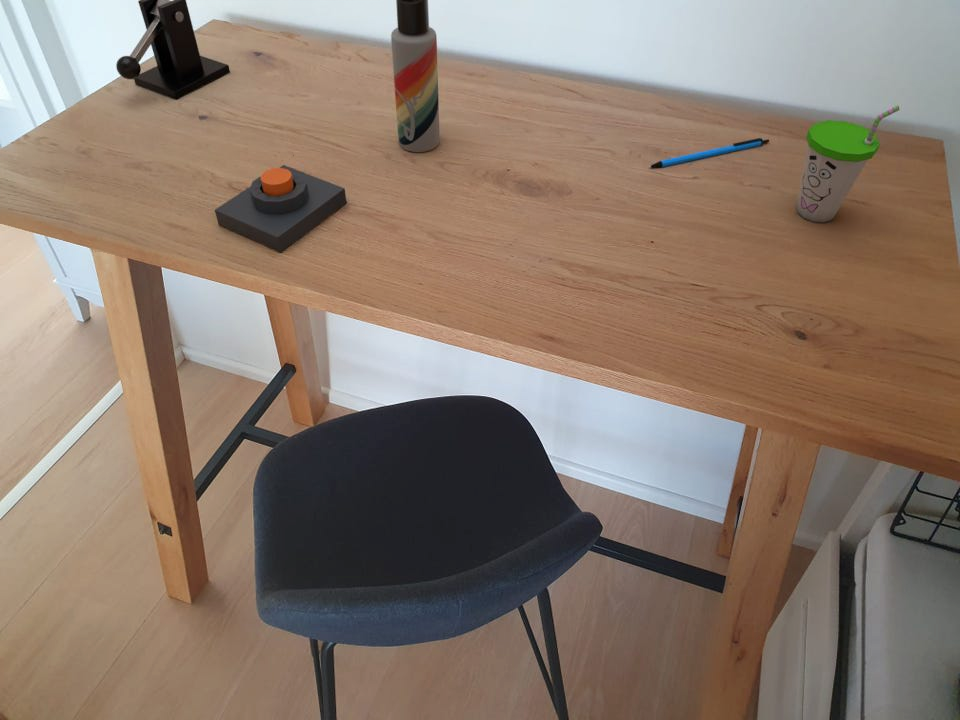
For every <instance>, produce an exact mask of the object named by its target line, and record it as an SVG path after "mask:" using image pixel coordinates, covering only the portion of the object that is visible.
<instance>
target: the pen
mask: <svg viewBox="0 0 960 720" xmlns="http://www.w3.org/2000/svg"><path fill="white" fill-rule="evenodd" d="M767 143H770V140H769V139H763V138H761V137H758V138H754V139H753V138H752V139H748V140H743V141H739V142H735V143H732V145H727V146H722V147H718V148H714V149H709V150H704V151H699V152H695V153H690V154H686V155H681V156H676V157H671V158H667V159H662V160H659V161H656V162H655V163H653V164H651V165H650V166H648V167H649V168H654V169H655V168H665V167H669V166H674V165H678V164H684V163H688V162H692V161H698V160H701V159H707V158H711V157H716V156H720V155H725V154H729V153H734V152H738V151H743V150H747V149H752V148H756V147H760V146H761V147H762V146H763V145H764V144H767Z"/></svg>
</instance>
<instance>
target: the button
mask: <svg viewBox="0 0 960 720" xmlns="http://www.w3.org/2000/svg"><path fill="white" fill-rule="evenodd" d="M260 176H261V183H262V187H263V191H264V193H265V194H267V195H269V196H280V195H284V194H288V193H290V192H291V191H293V189H294V184H293V179H292V174H291V172H290V171H289V170H287V169H284V168H280V167H273V168H270V169H266V170H265V171H263V172H262V173H261V175H260Z"/></svg>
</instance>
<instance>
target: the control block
mask: <svg viewBox="0 0 960 720" xmlns="http://www.w3.org/2000/svg"><path fill="white" fill-rule="evenodd" d="M279 168H284V169H287V170H289V171H290V172H291V174H292V179H293V184H294V189H293V191H291V192H290V193H288V194H284V195H280V196H269V195H267V194H265V193H264V191H263V187H262V183H261V175H260V176H258V177H257V178H255V179H254V180H253V181H252V182H251V184H250V186H249V187H247V188H245V189H244V190H243V191H241V192H240V193H238V194H237V195H235V196H234V197H232V198H230V199H229V200H228V201H225V202H224V203H223V204H221V205H220V206H218V207H217V208H215V209H214V213H215V217H216V221H217V223H218V226H220V227H222V228H225V229H227V230H229V231H231V232H233V233H235V234H238V235H240V236H242V237H245V238H247V239H249V240H252V241H254V242H256V243H258V244H261V245H263V246H265V247H267V248H270V249H272V250H275V251H276V252H279V253H282V252H284V251H285V250H286V249H287V248H289V247H291V245H293V244H295V243H296V242H297V241H298V240H300V239H301V238H302V237H303V236H305V235H306V234H307V233H309V232H310V231H312V230H313V229H314V228H316V227H317V226H319V225H320V224H321V223H322V222H324V221H326V219H328V218H330V217H331V216H332V215H333V214H334V213H335V212H337V211H338V210H340V209H341V208H343V207H344V206H345V205H346V204H347V203H348V202H347V194H346V189H345V187H342V186H339V185H337V184H334V183H332V182H330V181H327V180H324V179H322V178H319V177H317V176H313V175H311V174H309V173H306V172H303V171H300V170H298V169H295V168H294V167H290V166H288V165H285V164H283V165H281V166H280V167H279Z"/></svg>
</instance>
